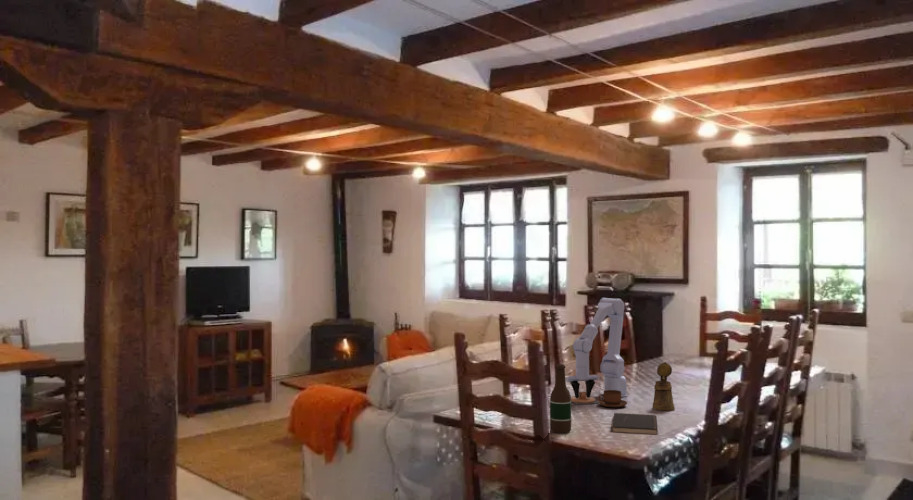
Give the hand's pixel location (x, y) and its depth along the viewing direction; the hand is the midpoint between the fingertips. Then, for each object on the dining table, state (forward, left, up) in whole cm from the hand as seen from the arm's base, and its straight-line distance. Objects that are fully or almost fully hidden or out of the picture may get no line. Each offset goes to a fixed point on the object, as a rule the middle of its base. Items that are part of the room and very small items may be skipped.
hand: (582, 397), depth 310 cm
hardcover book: (0, +45, -2) cm, 45 cm away
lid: (0, 0, -1) cm, 1 cm away
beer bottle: (+30, +45, -2) cm, 54 cm away
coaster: (0, 0, -2) cm, 2 cm away
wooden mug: (-27, +21, -2) cm, 34 cm away
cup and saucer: (-8, +12, -2) cm, 15 cm away
